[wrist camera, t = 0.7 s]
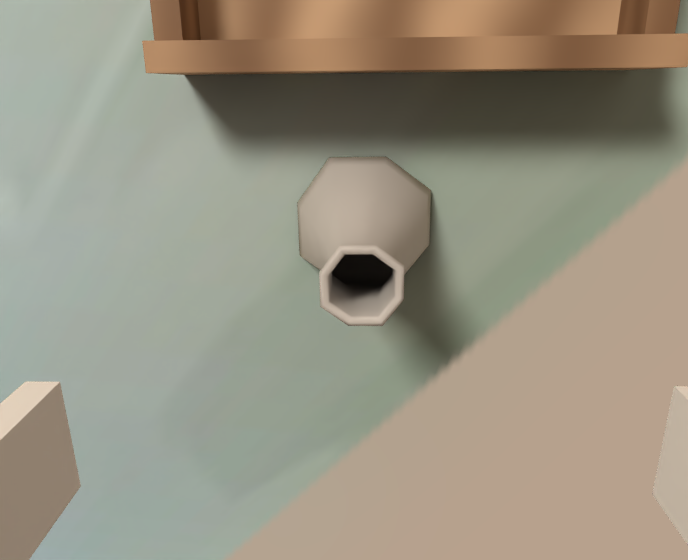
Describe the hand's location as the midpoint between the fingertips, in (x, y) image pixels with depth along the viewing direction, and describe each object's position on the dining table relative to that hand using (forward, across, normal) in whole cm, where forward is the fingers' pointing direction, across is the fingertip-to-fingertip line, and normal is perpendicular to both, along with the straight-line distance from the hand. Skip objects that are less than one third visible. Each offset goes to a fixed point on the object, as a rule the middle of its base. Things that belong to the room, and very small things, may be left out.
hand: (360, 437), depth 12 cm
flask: (+19, 0, 0) cm, 19 cm away
